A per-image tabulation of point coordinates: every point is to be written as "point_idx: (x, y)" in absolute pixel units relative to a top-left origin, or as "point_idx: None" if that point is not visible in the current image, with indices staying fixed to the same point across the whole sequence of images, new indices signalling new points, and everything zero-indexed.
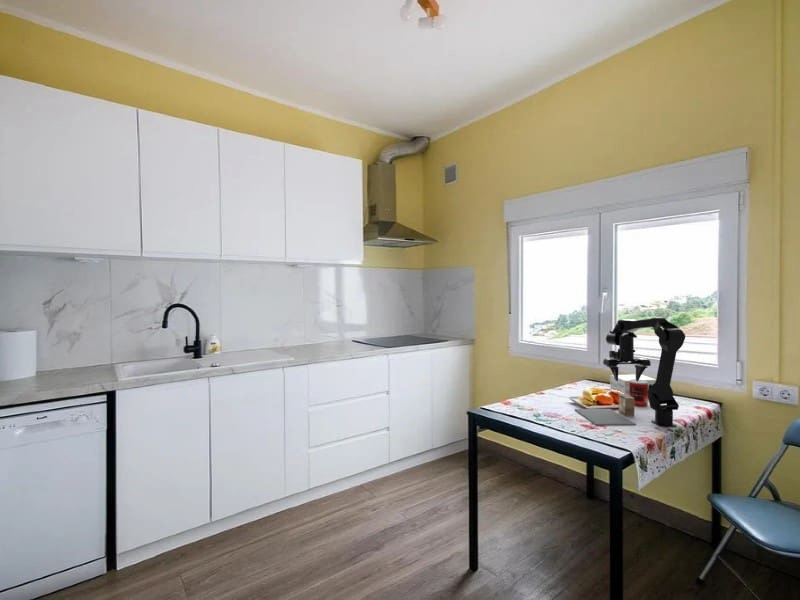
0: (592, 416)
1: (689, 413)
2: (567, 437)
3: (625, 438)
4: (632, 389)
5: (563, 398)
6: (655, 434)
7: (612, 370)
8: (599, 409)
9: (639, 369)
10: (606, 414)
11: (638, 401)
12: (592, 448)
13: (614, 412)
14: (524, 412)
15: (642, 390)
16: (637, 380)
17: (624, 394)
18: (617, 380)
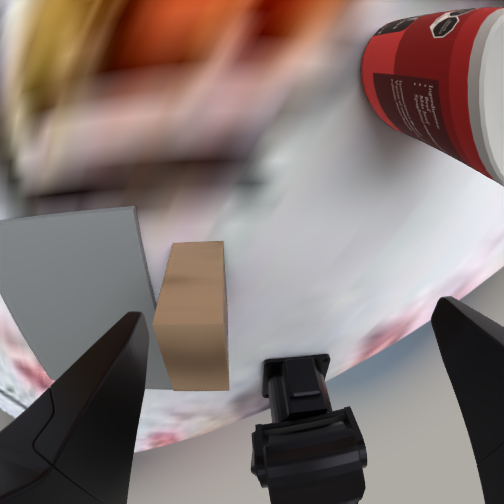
0: (35, 323)
1: (492, 255)
2: (10, 407)
3: None
4: (423, 101)
5: None
6: (205, 426)
7: (25, 451)
8: (68, 228)
9: (496, 465)
10: (89, 305)
11: (396, 127)
12: None
13: (135, 278)
14: None
15: (469, 166)
16: (433, 329)
17: (200, 327)
18: (144, 350)
